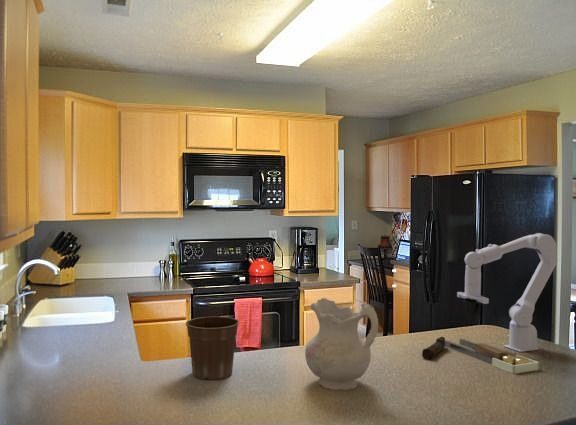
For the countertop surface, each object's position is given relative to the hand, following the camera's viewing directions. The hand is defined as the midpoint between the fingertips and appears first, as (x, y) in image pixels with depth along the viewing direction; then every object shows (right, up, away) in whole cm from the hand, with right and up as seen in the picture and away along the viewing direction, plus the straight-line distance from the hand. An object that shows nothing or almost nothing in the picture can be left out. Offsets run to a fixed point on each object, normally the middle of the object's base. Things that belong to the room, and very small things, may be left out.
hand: (471, 319), depth 198 cm
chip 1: (+4, -11, -24) cm, 27 cm away
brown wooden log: (-17, -10, -11) cm, 23 cm away
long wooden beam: (+1, -11, -17) cm, 20 cm away
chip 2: (+7, -11, -27) cm, 29 cm away
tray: (+5, -11, -26) cm, 29 cm away
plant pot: (-93, -9, -39) cm, 102 cm away
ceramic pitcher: (-54, -10, -45) cm, 72 cm away
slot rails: (-2, -10, -10) cm, 15 cm away
